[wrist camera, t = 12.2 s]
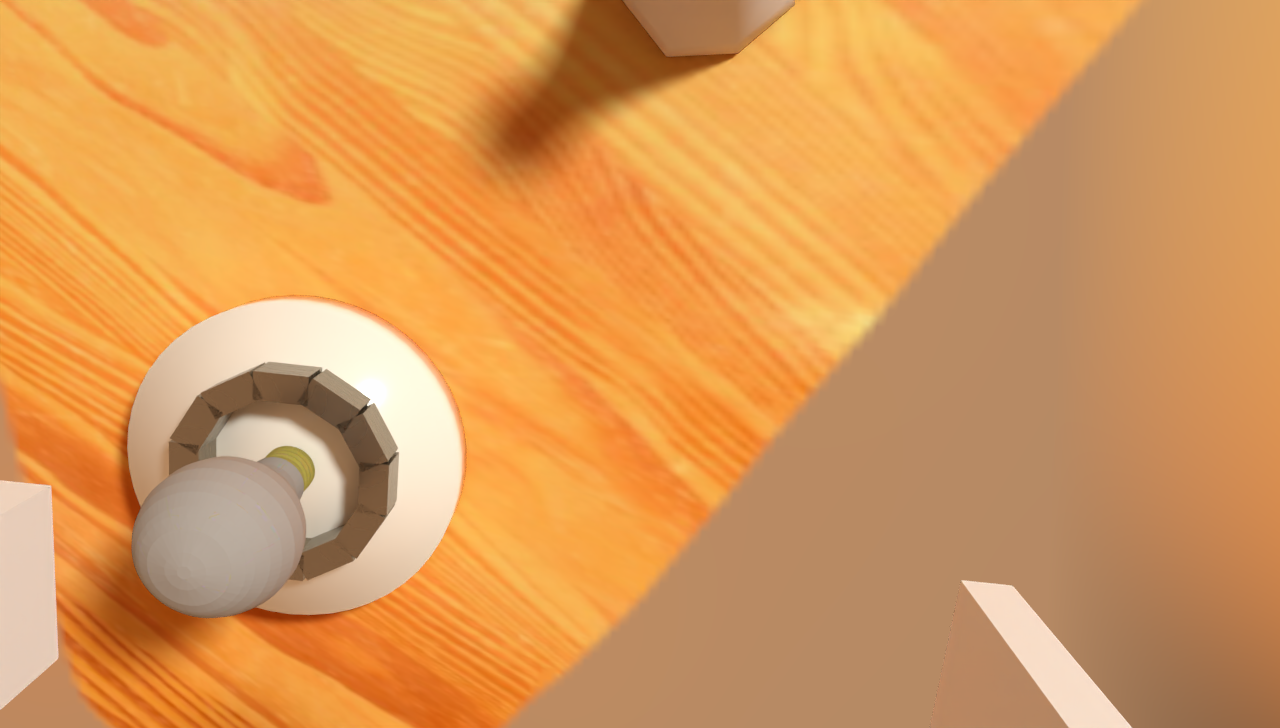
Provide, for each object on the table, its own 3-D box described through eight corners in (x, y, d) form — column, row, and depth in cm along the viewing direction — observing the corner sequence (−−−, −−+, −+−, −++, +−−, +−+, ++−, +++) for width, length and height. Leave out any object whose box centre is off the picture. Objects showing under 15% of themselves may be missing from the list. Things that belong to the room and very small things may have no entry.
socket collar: (187, 352, 38) (168, 361, 36) (403, 376, 38) (392, 385, 36) (188, 551, 40) (169, 567, 38) (392, 571, 40) (382, 589, 38)
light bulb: (356, 530, 40) (265, 659, 30) (228, 514, 39) (96, 638, 30) (365, 411, 38) (274, 505, 29) (234, 393, 38) (97, 482, 28)
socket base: (149, 277, 39) (123, 285, 37) (477, 314, 39) (468, 322, 37) (153, 577, 42) (130, 598, 40) (456, 607, 43) (447, 630, 41)
